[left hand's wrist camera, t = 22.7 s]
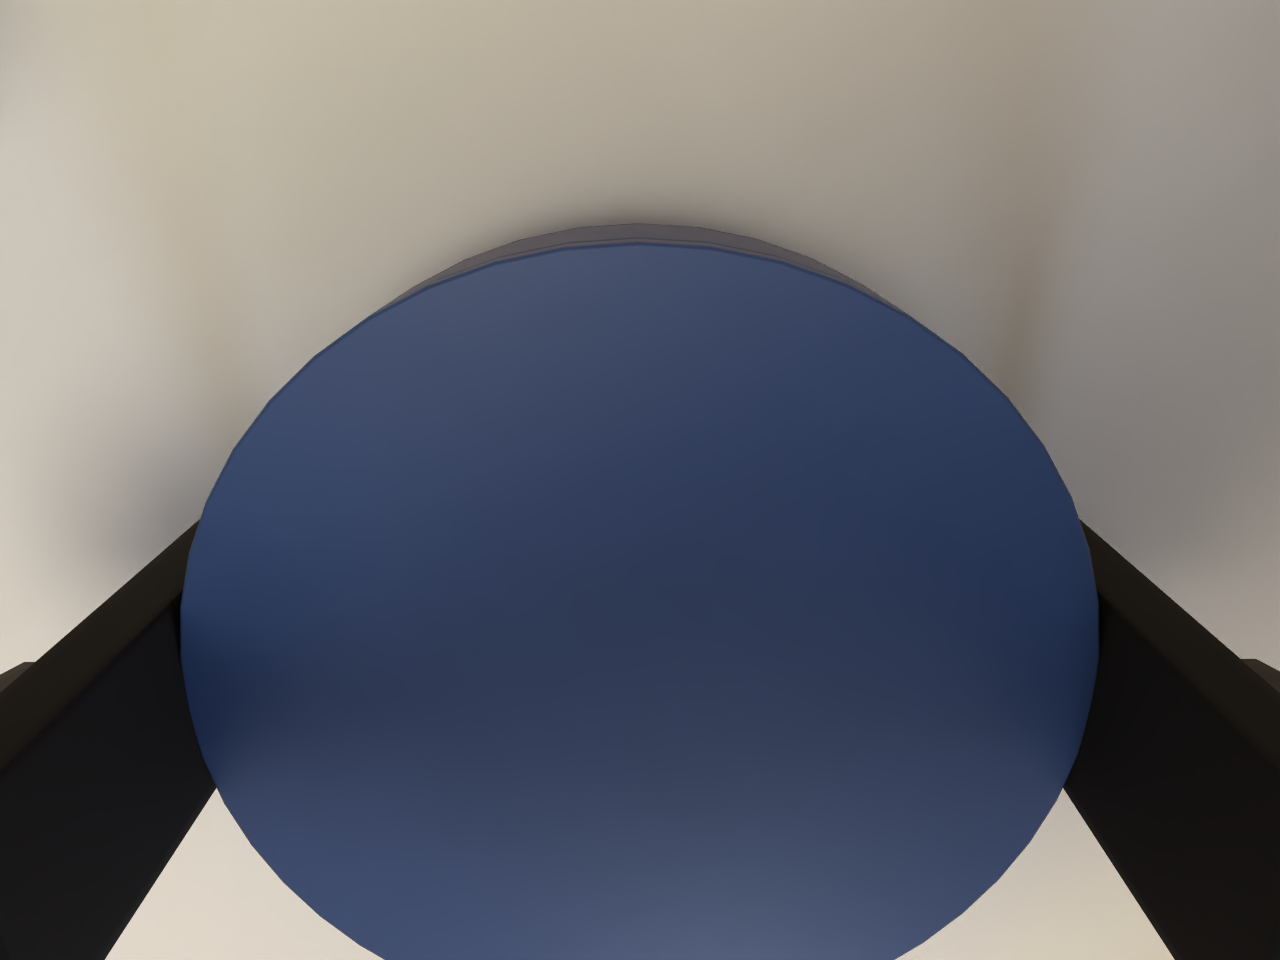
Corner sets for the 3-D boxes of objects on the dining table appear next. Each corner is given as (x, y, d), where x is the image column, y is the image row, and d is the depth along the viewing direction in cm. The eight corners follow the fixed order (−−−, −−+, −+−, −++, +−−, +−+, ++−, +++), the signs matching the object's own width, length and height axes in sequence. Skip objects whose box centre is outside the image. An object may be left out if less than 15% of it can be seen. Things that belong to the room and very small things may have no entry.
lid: (233, 165, 10) (140, 172, 8) (1138, 285, 10) (1248, 317, 9) (263, 875, 14) (204, 990, 12) (921, 938, 14) (964, 1057, 12)
